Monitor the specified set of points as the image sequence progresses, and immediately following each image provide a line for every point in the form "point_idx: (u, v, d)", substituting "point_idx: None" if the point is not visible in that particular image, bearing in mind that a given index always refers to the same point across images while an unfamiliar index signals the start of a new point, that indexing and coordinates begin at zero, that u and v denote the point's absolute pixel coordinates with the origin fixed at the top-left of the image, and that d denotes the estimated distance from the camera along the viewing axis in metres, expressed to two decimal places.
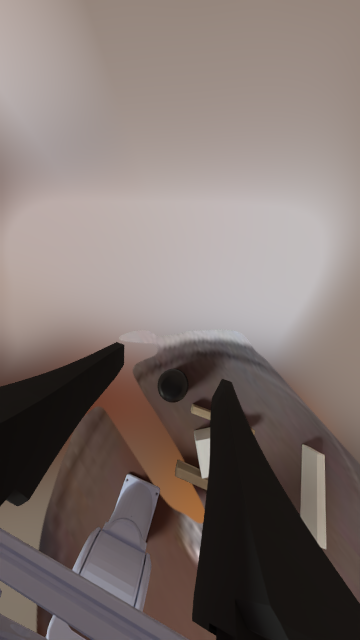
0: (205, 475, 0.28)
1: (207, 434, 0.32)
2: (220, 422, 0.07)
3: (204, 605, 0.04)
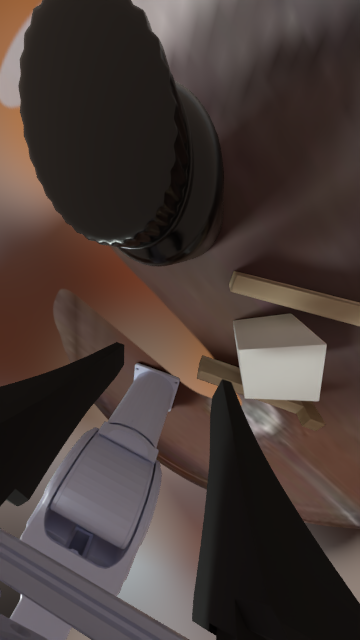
0: (252, 396, 0.14)
1: (269, 333, 0.13)
2: (220, 422, 0.07)
3: (204, 605, 0.04)
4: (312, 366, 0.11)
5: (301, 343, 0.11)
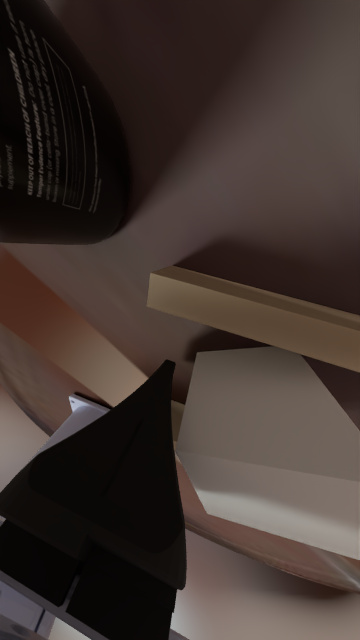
0: (220, 515, 0.07)
1: (248, 401, 0.06)
2: None
3: None
4: (351, 514, 0.04)
5: (322, 459, 0.04)
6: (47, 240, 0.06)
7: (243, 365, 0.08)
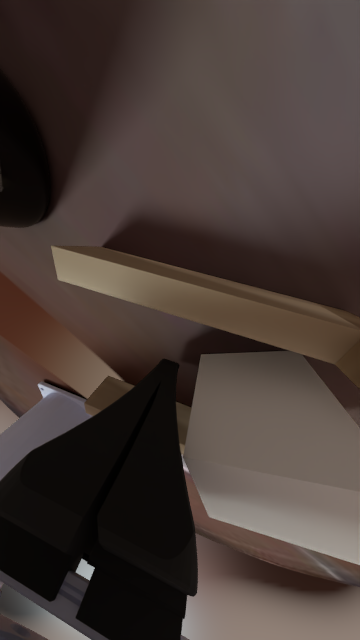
0: (223, 518, 0.07)
1: (255, 407, 0.06)
2: None
3: None
4: (359, 524, 0.04)
5: (333, 469, 0.04)
6: None
7: (249, 369, 0.08)
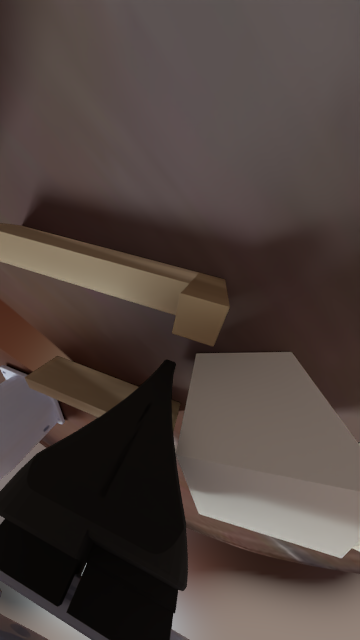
0: (212, 515, 0.07)
1: (248, 406, 0.06)
2: None
3: None
4: (343, 519, 0.05)
5: (321, 467, 0.04)
6: None
7: (243, 369, 0.08)
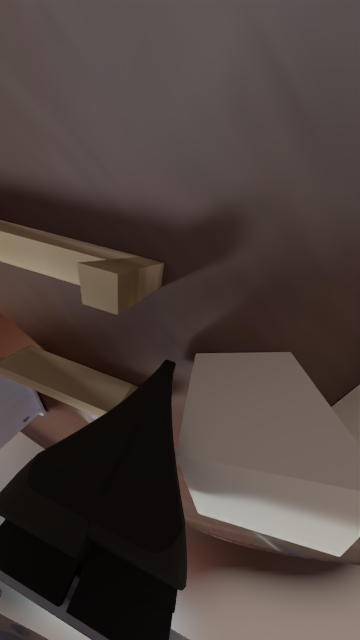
0: (211, 515, 0.07)
1: (248, 406, 0.06)
2: None
3: None
4: (341, 518, 0.05)
5: (320, 466, 0.04)
6: None
7: (242, 369, 0.08)
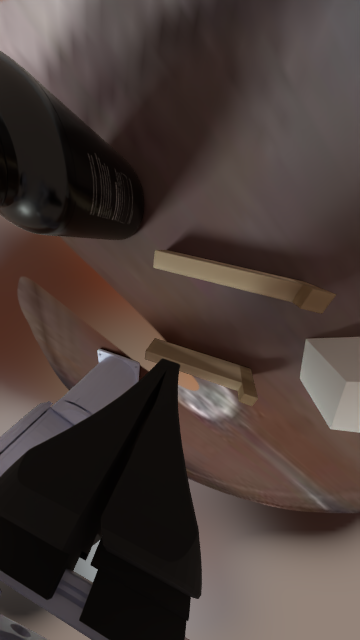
0: (341, 427, 0.13)
1: None
2: None
3: None
4: None
5: None
6: (108, 237, 0.13)
7: (352, 345, 0.14)
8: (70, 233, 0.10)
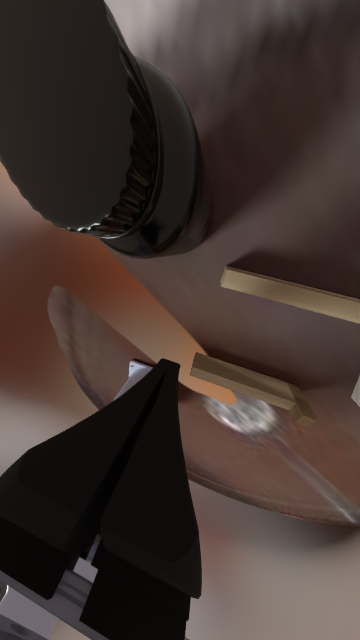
0: None
1: None
2: None
3: None
4: None
5: None
6: (176, 254, 0.12)
7: None
8: (160, 256, 0.09)
